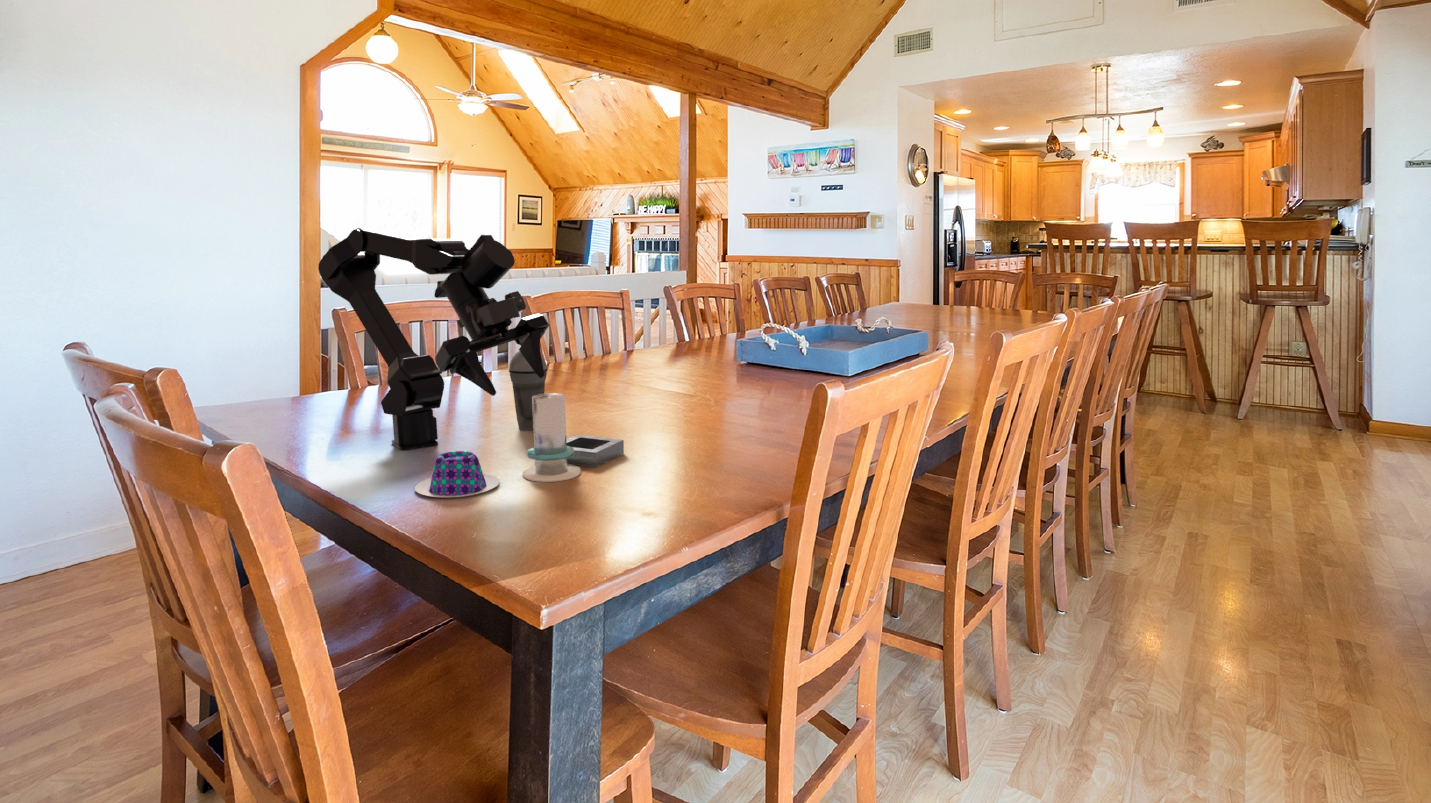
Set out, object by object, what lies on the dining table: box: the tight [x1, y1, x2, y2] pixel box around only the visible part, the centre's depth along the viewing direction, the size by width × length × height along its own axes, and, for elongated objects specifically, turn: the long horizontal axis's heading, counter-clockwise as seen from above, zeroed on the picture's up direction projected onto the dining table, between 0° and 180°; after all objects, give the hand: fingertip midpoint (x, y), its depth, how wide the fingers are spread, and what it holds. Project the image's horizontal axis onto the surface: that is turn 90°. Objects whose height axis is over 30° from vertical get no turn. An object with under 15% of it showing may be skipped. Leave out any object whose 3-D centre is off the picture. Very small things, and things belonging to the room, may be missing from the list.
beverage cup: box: [508, 350, 548, 432], centre depth 152 cm, size 7×7×20 cm
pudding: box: [414, 450, 501, 499], centre depth 117 cm, size 12×12×5 cm
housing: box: [566, 434, 625, 468], centre depth 133 cm, size 9×9×2 cm
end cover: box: [526, 392, 574, 475], centre depth 123 cm, size 7×7×12 cm
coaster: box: [522, 464, 582, 483], centre depth 124 cm, size 9×9×1 cm
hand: (519, 385), depth 127 cm, fingers open, 9 cm apart
